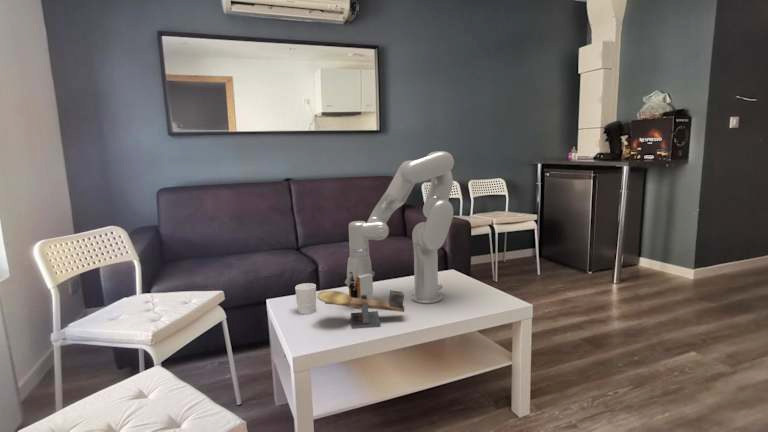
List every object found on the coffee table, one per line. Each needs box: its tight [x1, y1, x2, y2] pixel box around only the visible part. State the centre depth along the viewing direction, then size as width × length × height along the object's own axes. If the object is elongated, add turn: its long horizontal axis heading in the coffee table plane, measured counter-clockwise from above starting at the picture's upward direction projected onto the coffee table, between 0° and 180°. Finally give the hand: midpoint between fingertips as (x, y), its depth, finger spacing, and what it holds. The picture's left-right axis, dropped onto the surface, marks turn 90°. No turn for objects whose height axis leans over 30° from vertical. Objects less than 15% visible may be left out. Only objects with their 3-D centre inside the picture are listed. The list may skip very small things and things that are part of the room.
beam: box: [316, 290, 405, 313], centre depth 147 cm, size 31×12×6 cm, turn 95°
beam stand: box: [350, 295, 382, 329], centre depth 147 cm, size 10×12×8 cm
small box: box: [348, 273, 374, 310], centre depth 163 cm, size 8×6×13 cm
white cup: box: [294, 282, 317, 315], centre depth 158 cm, size 8×8×10 cm
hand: (360, 296), depth 163 cm, fingers closed on small box, 7 cm apart
